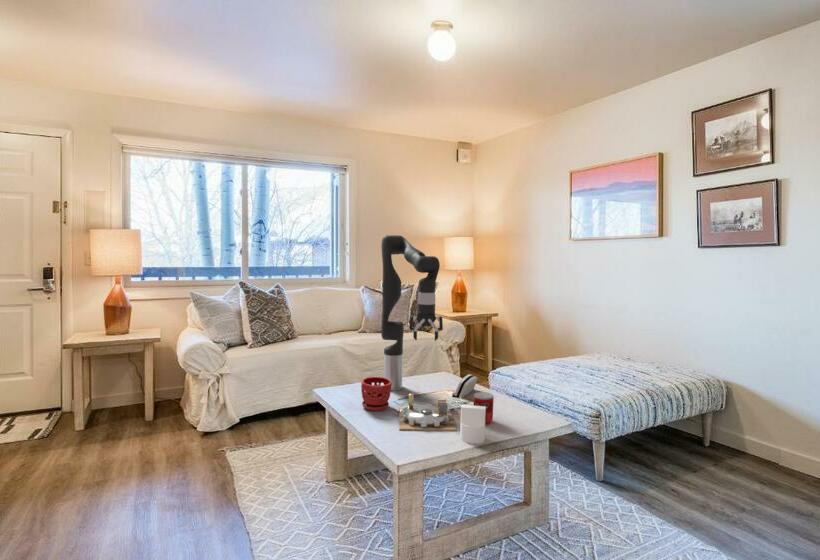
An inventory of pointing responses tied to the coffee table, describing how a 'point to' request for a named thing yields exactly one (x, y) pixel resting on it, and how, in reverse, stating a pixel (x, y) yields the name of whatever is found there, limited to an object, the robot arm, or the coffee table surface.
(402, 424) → the board
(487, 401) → the canned food
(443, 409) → the grey rectangular block
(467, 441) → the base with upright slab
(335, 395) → the coffee table surface
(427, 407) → the sprocket
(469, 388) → the grey curved shell
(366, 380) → the plant pot
